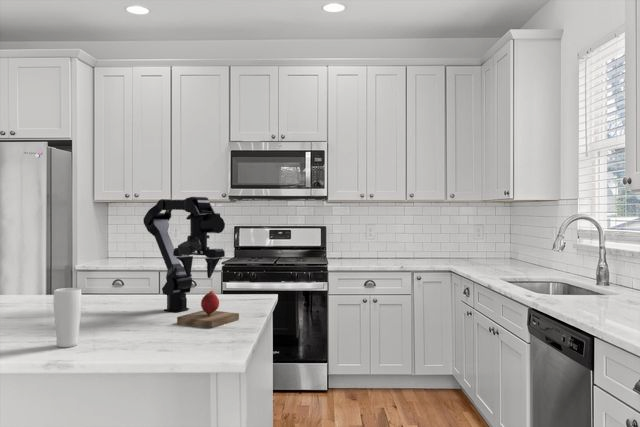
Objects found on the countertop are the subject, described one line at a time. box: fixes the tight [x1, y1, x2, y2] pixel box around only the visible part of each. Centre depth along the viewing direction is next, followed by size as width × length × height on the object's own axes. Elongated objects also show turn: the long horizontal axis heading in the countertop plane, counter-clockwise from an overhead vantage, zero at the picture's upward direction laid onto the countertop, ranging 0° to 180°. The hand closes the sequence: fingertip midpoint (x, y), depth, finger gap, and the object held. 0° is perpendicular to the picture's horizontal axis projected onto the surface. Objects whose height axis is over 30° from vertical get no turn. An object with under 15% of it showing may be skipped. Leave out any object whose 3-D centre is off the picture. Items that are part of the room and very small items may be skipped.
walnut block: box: [176, 309, 240, 329], centre depth 167 cm, size 14×14×3 cm
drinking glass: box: [52, 287, 83, 349], centre depth 137 cm, size 7×7×15 cm
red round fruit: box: [200, 289, 220, 315], centre depth 167 cm, size 6×6×8 cm
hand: (198, 277), depth 179 cm, fingers open, 9 cm apart
